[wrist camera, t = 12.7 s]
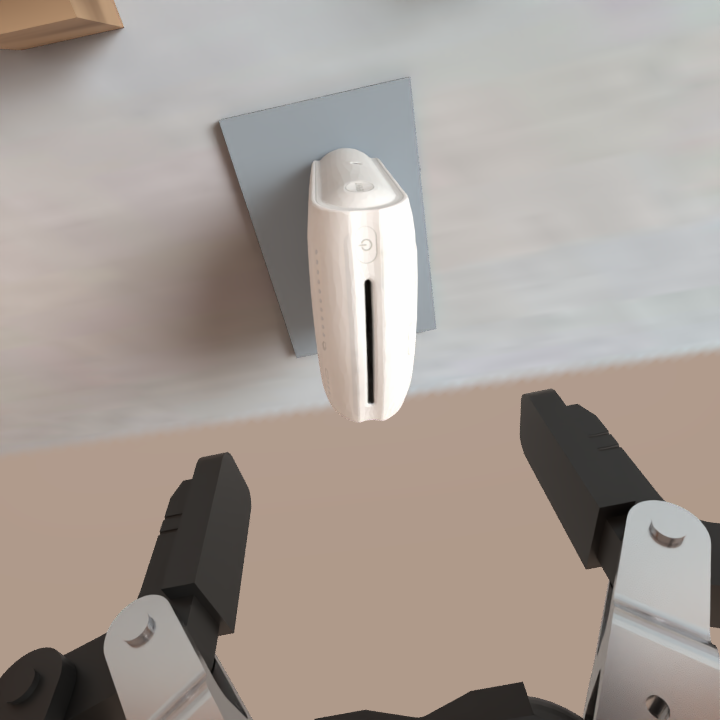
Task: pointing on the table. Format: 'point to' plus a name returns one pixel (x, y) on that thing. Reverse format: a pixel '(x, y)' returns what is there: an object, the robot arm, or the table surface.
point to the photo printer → (362, 284)
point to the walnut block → (53, 21)
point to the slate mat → (292, 179)
